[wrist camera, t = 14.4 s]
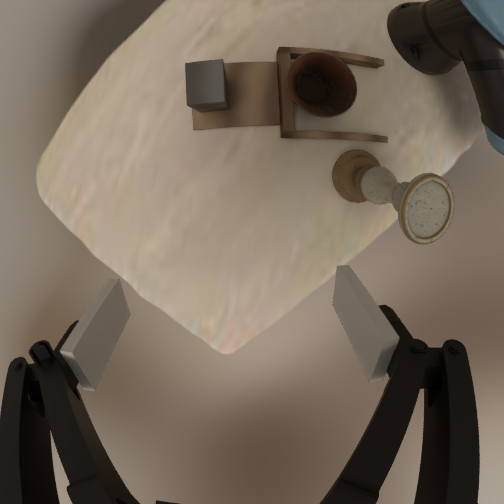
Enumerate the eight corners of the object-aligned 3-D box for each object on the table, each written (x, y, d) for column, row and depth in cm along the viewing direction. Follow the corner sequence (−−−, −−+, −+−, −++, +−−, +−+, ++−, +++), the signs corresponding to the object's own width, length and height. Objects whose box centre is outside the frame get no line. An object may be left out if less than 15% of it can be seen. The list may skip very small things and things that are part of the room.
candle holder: (382, 195, 43) (457, 239, 25) (337, 206, 44) (398, 260, 25) (375, 145, 40) (457, 163, 21) (327, 154, 40) (393, 175, 22)
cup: (263, 68, 34) (283, 51, 25) (318, 64, 34) (349, 50, 25) (274, 122, 38) (297, 121, 29) (328, 115, 38) (362, 114, 29)
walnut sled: (375, 63, 33) (415, 47, 22) (378, 141, 39) (421, 148, 28) (191, 57, 33) (173, 31, 21) (195, 142, 38) (178, 146, 27)
